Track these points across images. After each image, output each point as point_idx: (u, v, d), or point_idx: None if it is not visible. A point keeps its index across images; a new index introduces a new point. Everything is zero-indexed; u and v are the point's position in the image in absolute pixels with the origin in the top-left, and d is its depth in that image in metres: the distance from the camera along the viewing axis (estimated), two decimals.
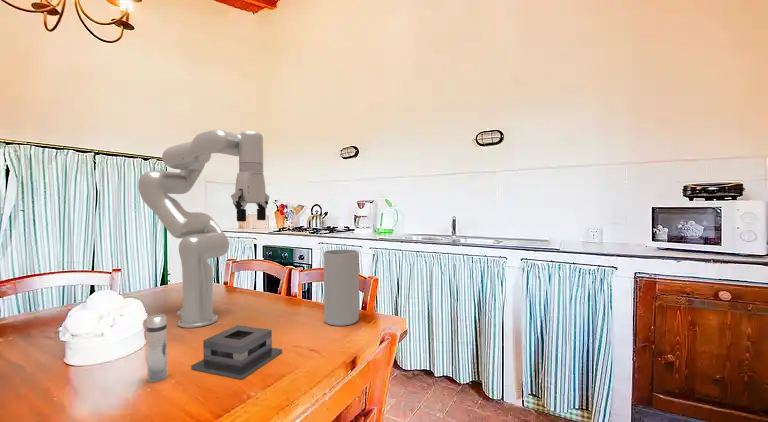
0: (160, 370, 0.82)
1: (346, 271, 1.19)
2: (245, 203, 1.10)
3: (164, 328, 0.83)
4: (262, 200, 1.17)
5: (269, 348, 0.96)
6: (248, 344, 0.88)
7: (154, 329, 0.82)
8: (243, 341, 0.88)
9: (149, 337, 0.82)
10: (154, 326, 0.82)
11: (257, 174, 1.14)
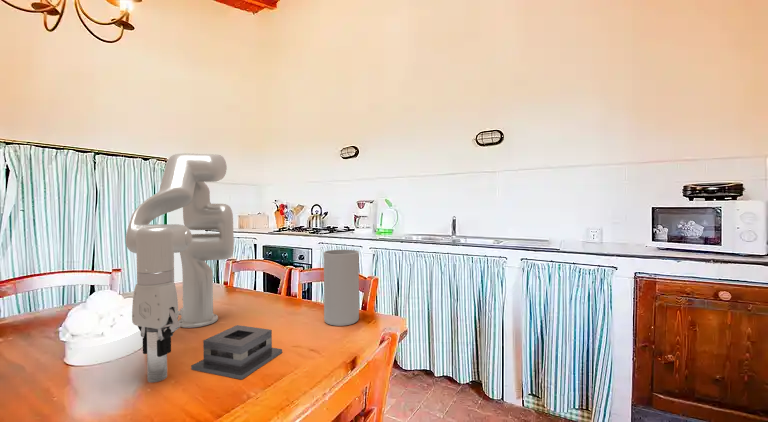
0: (160, 370, 0.82)
1: (346, 271, 1.19)
2: None
3: (164, 328, 0.83)
4: None
5: (269, 348, 0.96)
6: (248, 344, 0.88)
7: (154, 329, 0.82)
8: (243, 341, 0.88)
9: (149, 337, 0.82)
10: None
11: None
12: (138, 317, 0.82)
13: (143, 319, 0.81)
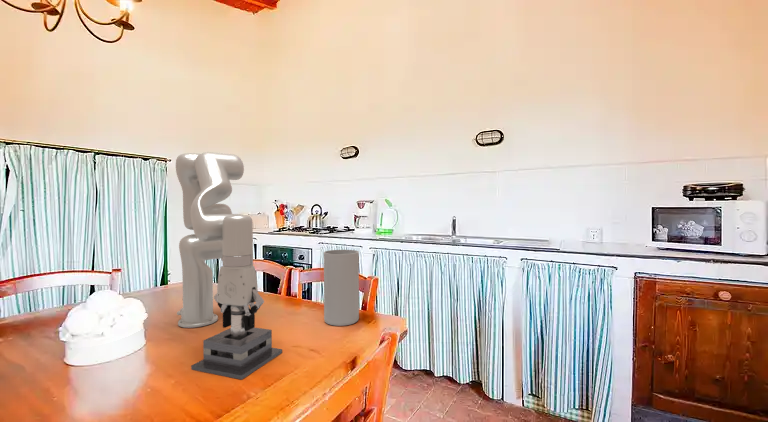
0: None
1: (346, 271, 1.19)
2: None
3: None
4: None
5: (269, 348, 0.96)
6: (248, 344, 0.88)
7: (238, 312, 0.91)
8: (243, 341, 0.88)
9: (234, 319, 0.91)
10: (238, 310, 0.91)
11: None
12: (223, 296, 0.91)
13: (228, 298, 0.90)
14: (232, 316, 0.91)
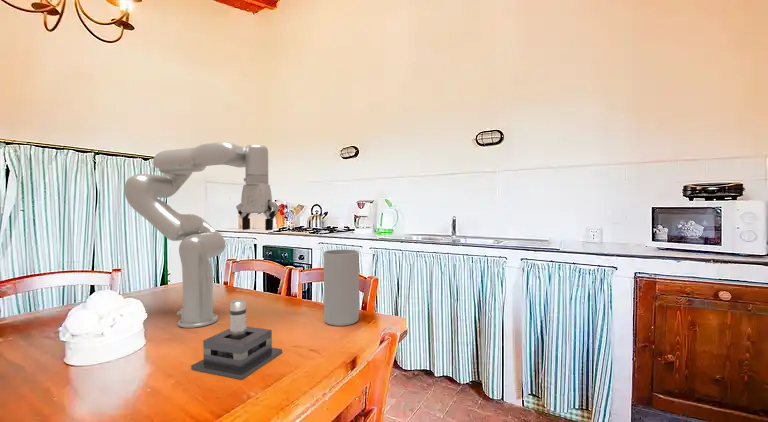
0: None
1: (346, 271, 1.19)
2: None
3: (245, 312, 0.93)
4: None
5: (269, 348, 0.96)
6: (248, 344, 0.88)
7: (237, 312, 0.91)
8: (243, 341, 0.88)
9: (233, 319, 0.91)
10: (237, 310, 0.91)
11: None
12: (246, 206, 1.19)
13: (250, 207, 1.18)
14: (231, 316, 0.91)
